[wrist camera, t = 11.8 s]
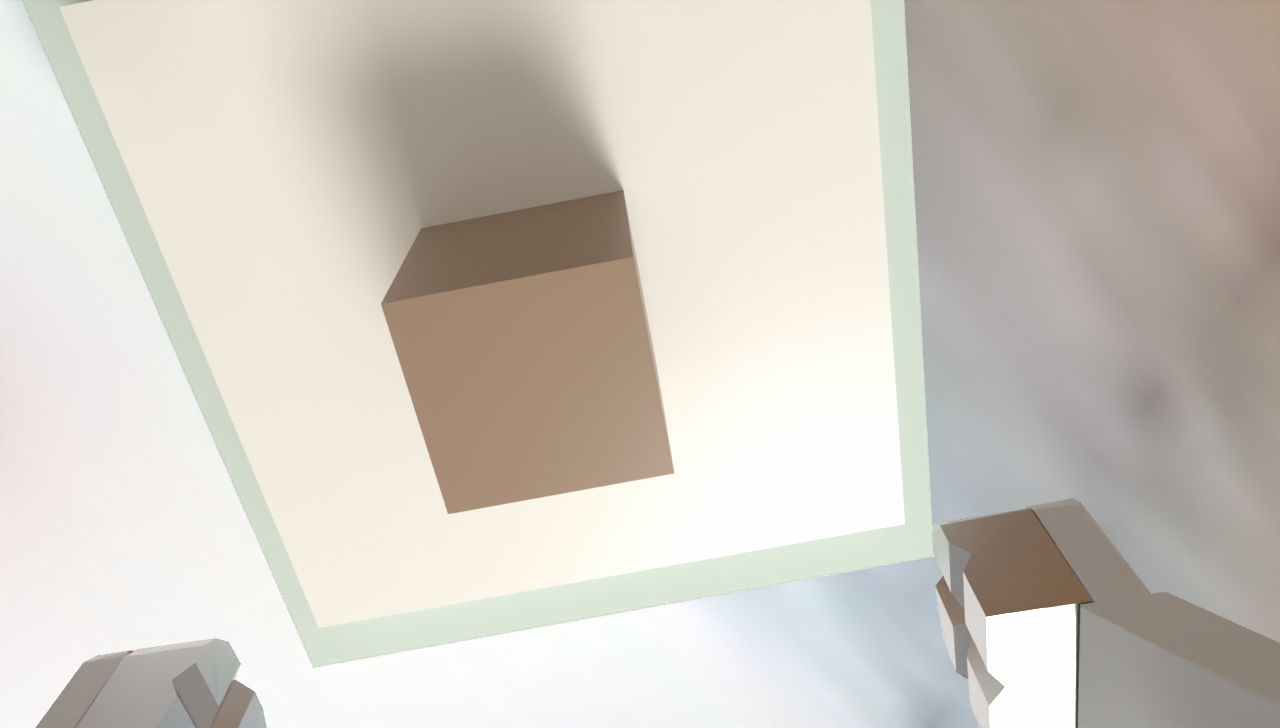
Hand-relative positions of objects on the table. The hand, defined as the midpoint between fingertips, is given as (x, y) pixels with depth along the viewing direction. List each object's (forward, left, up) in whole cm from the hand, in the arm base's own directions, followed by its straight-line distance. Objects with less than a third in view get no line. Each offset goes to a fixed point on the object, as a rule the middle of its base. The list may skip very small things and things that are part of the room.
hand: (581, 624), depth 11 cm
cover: (+1, 0, -10) cm, 10 cm away
